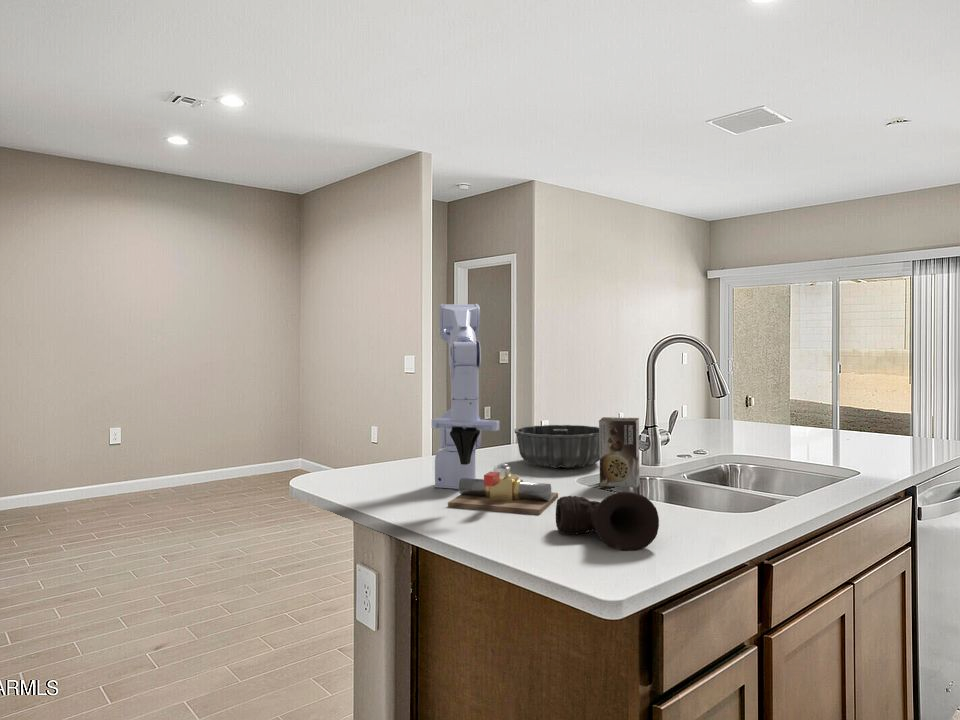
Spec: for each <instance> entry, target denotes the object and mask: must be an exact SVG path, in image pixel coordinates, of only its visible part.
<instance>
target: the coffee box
mask: <svg viewBox="0 0 960 720" xmlns="http://www.w3.org/2000/svg"><path fill="white" fill-rule="evenodd" d="M639 419H640V418H639V417H613V416H612V417H609V416H608V417H602V418H600V419H599V420H598V428H599V451H600V460H599V486H600V487H616V488H617V487H618V488H635V489H637V488H638V487H639V485H640V483H641V482H640V421H639Z"/></svg>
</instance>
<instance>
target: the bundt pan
mask: <svg viewBox="0 0 960 720" xmlns="http://www.w3.org/2000/svg"><path fill="white" fill-rule="evenodd" d="M514 434H516V439H517V445H518V452H519V455H520V457H521V458H522V459H523V460H524V462H526V463H528V464H530V465H532V466H535V467H543V468H549V467H554V468H555V469H559V467H562V468H565V469H570V468H579V469H580V468H582V467H587V466H591V465H593V464H595V463H598V462H600V451H599V426H589V425H581V424H579V425H577V424H576V425H574V424H572V425H571V424H544V425H543V424H542V425H532V426H531V425H530V426H521V427H519V428H515V429H514Z"/></svg>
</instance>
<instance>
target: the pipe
mask: <svg viewBox="0 0 960 720" xmlns="http://www.w3.org/2000/svg"><path fill="white" fill-rule="evenodd" d="M658 513H659V512H658V510H657V507H656V506H655V505H654V503H653V502H652V501H651V500H650V499H648V497H646V496H644V495H643V494H641V493H636V492H632V491H618V492H615V493H612V494H610V495H608V496H606V497H605V498H604V499H603V500H601V501H597V500H592V501H591V500H589V499H588V498H586V497H584V496H577V495H568V496H565V495H564V496H561V497H558V498H557V499H556V506H555V525H556V529H557V530H558V532H559V533H562V534H567V535H571V534H573V535H577V534H580V533H581V534H583V533H588V532H591V531H593V532H596V533H597V535H598V537H599V538H600V539H601V541H602V542H603V543H604V544H605V545H606V546H607V547H610V548H611V549H615V550H618V551H622V552H632V551H634V552H635V551H639V550H643V549H644V548H646V547H648V546H649V545H650V544H651V543H652V542H653V541H654V540H655V539H656V537H657V535H658V531H659V527H660V526H659V525H660V520H659V519H660V518H659V514H658Z"/></svg>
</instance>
